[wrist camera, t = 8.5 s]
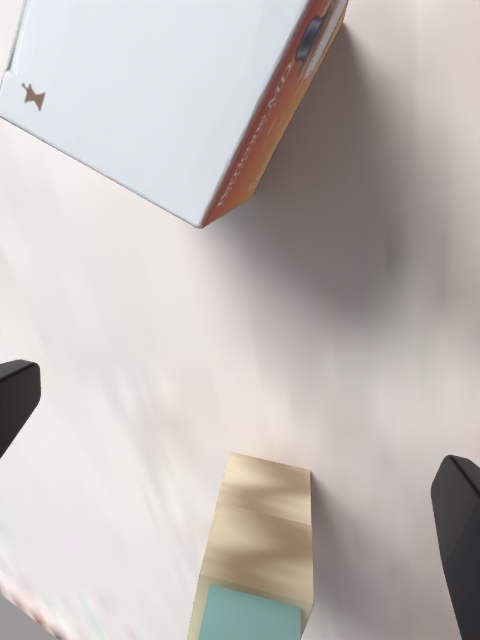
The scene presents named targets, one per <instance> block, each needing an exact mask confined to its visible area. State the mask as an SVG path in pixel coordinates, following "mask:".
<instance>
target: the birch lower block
mask: <svg viewBox="0 0 480 640" xmlns="http://www.w3.org/2000/svg"><path fill="white" fill-rule="evenodd" d="M218 502H219V503H223V504H227V505H231V506H236V507H240V508H244V509H248V510H252V511H256V512H260V513H264V514H268V515H272V516H276V517H280V518H284V519H288V520H292V521H296V522H300V523H304V524H308V525H311V484H310V470H306V469H301V468H297V467H293V466H289V465H284V464H280V463H276V462H272V461H267V460H263V459H259V458H255V457H250V456H246V455H242V454H238V453H233V452H229V456H228V460H227V464H226V468H225V472H224V476H223V480H222V484H221V488H220V492H219V496H218V500H217V503H218ZM216 507H217V504H216ZM215 511H216V510H215Z"/></svg>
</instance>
